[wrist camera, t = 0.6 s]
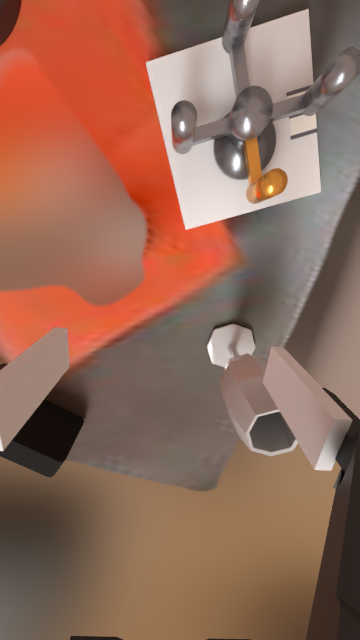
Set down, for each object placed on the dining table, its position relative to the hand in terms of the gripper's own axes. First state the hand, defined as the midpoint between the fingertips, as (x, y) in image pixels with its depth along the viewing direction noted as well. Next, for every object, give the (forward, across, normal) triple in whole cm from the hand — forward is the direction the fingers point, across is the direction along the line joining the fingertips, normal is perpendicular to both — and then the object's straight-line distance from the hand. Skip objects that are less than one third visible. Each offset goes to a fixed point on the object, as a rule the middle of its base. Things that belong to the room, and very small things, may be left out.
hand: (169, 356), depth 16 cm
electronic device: (+26, -20, -29) cm, 44 cm away
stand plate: (+26, +7, +21) cm, 34 cm away
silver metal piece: (+24, +7, +21) cm, 33 cm away
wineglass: (+26, +11, -10) cm, 30 cm away
